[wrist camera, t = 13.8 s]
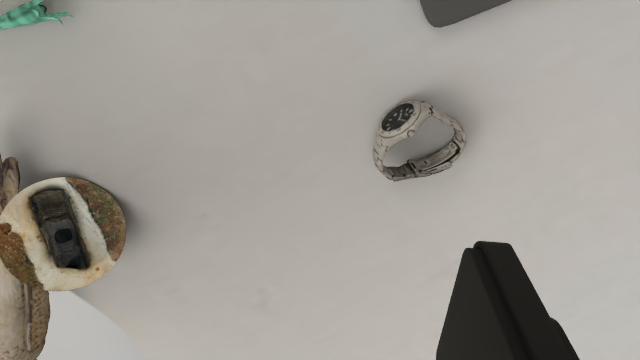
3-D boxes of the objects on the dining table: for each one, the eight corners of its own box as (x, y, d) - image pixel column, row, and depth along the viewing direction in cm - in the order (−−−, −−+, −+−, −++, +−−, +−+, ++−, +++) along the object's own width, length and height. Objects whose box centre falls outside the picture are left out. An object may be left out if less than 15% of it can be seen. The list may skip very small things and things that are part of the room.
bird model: (-32, 427, 44) (4, 379, 48) (35, 442, 44) (65, 393, 48) (-108, 144, 29) (-45, 110, 33) (-7, 168, 29) (43, 131, 33)
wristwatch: (369, 168, 35) (364, 102, 33) (452, 152, 36) (454, 86, 34) (383, 193, 32) (379, 122, 30) (474, 175, 33) (478, 104, 31)
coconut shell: (54, 157, 36) (48, 201, 41) (-35, 232, 31) (-30, 274, 36) (149, 218, 37) (133, 255, 42) (78, 301, 32) (69, 333, 36)
